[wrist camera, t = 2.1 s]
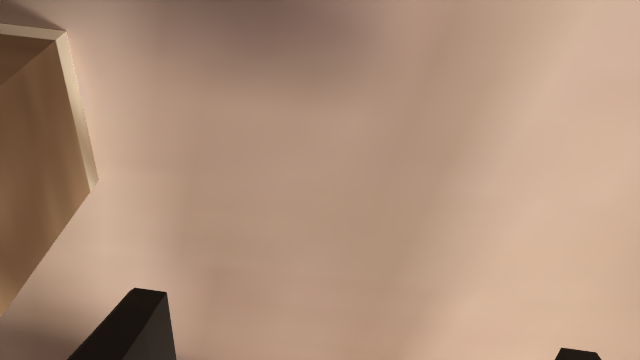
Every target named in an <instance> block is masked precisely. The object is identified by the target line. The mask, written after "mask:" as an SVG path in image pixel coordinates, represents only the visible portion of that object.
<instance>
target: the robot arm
mask: <svg viewBox="0 0 640 360" xmlns="http://www.w3.org/2000/svg"><path fill="white" fill-rule="evenodd" d="M67 360H176V354H175V347H174V340H173V333H172V326H171V319H170V312H169V305H168V298H167V292H161V291H154V290H147V289H140V288H134V289H132V290H131V291H129V292H128V294H127V295H126V296H125V297H124V298H123V299H122V300H121V302H120V303H119V304H118V305H117V306H116V307H115V308H114V309H113V311H112V312H111V313H110V314H109V315H108V316H107V317H106V318H105V319H104V321H103V322H102V323H101V324H100V325H99V326H98V327H97V328H96V329H95V330H94V331H93V333H92V334H91V335H90V336H89V337H88V338H87V339H86V340H85V341H84V342H83V343H82V344H81V345H80V346H79V347H78V349H77V350H76V351H75V352H74V353H73V354H72V355H71V356H70V357H69V358H68V359H67ZM555 360H601V358H600V357H599V356H598V354H597V353H596V352H589V351H581V350H574V349H567V348H561V349H560V351H559V353H558V355H557V357H556V359H555Z"/></svg>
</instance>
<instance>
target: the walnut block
mask: <svg viewBox="0 0 640 360" xmlns="http://www.w3.org/2000/svg"><path fill="white" fill-rule="evenodd" d="M97 182H98V175H97V170H96V166H95V161H94V156H93V152H92V147H91V142H90V138H89V133H88V128H87V124H86V119H85V114H84V110H83V105H82V100H81V96H80V91H79V86H78V82H77V77H76V72H75V68H74V63H73V58H72V54H71V49H70V44H69V40H68V35H67V31H62V30H53V29H44V28H36V27H27V26H18V25H10V24H1V23H0V317H1V316H2V314H3V313H4V312H5V310H6V309H7V307H8V306H9V305H10V303H11V302H12V300H13V299H14V298H15V296H16V295H17V293H18V292H19V291H20V289H21V288H22V286H23V285H24V284H25V282H26V281H27V279H28V278H29V277H30V275H31V274H32V272H33V271H34V270H35V268H36V267H37V265H38V264H39V263H40V261H41V260H42V258H43V257H44V256H45V254H46V253H47V252H48V250H49V249H50V247H51V246H52V245H53V243H54V242H55V240H56V239H57V238H58V236H59V235H60V233H61V232H62V231H63V229H64V228H65V226H66V225H67V224H68V222H69V221H70V219H71V218H72V217H73V215H74V214H75V212H76V211H77V210H78V208H79V207H80V205H81V204H82V203H83V201H84V200H85V198H86V197H87V196H88V194H89V193H90V191H91V190H92V189H93V187H94V186H95V184H96V183H97Z"/></svg>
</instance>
